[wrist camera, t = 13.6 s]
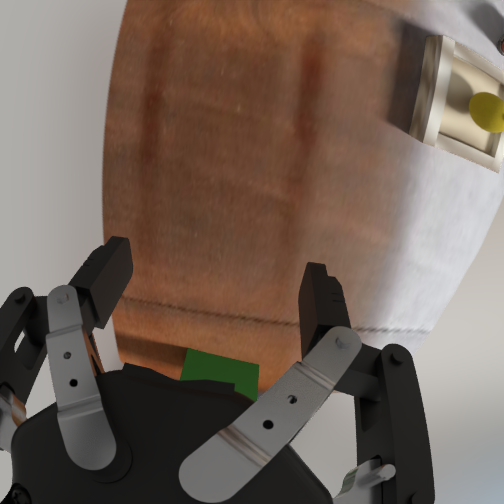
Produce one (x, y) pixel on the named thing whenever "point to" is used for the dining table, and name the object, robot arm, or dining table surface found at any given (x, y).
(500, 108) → the lemon
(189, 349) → the green striped box
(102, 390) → the robot arm
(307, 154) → the dining table surface
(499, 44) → the lighter
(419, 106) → the birch base
